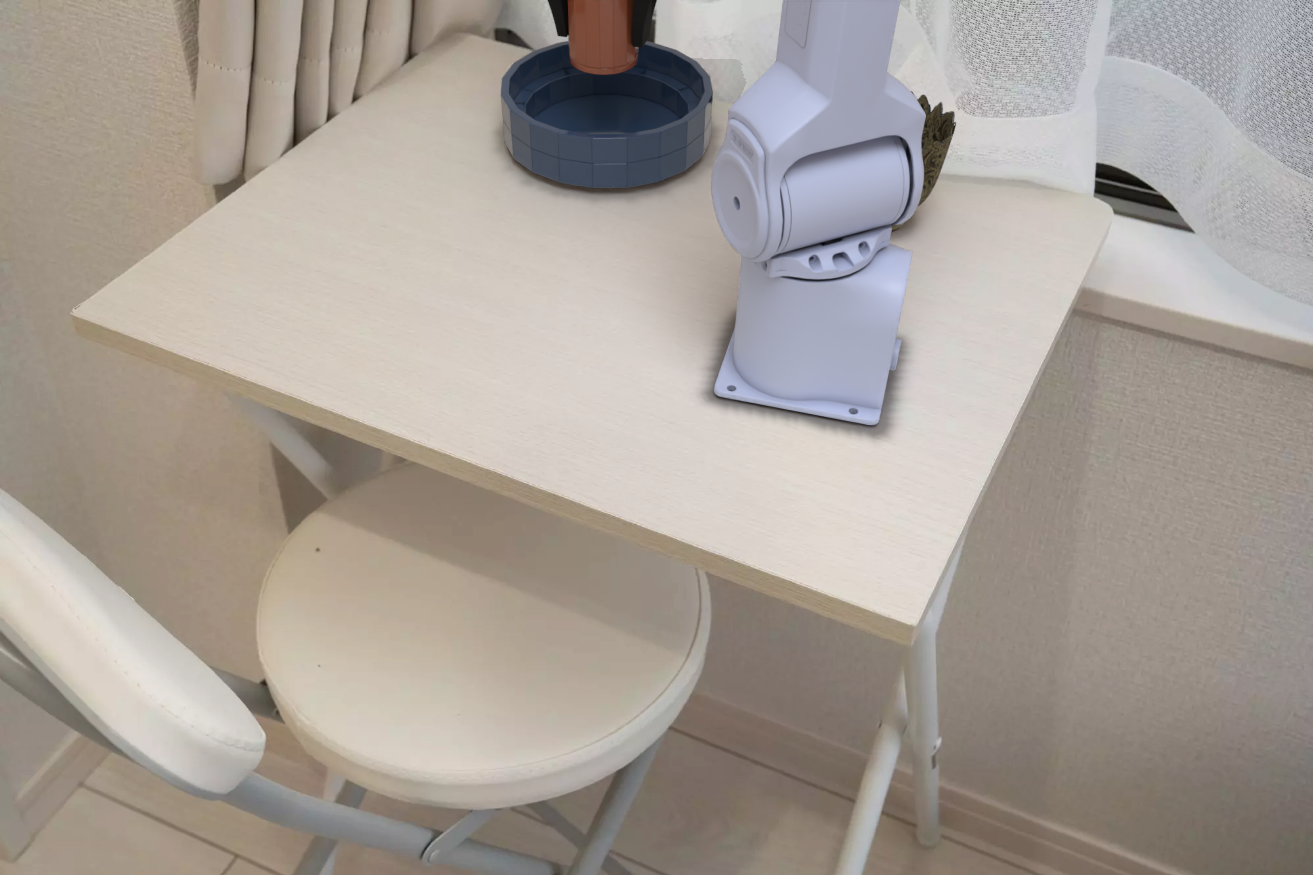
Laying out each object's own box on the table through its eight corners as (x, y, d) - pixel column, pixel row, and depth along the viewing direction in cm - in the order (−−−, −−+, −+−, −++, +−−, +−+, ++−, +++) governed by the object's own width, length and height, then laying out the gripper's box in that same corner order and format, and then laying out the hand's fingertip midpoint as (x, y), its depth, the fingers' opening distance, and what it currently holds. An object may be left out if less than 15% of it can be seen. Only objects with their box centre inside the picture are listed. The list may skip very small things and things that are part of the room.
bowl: (728, 107, 92) (732, 52, 89) (681, 210, 82) (683, 152, 78) (543, 80, 95) (541, 26, 92) (475, 176, 84) (469, 119, 81)
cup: (645, 48, 84) (646, -50, 79) (627, 79, 81) (627, -22, 76) (581, 39, 85) (578, -59, 80) (560, 69, 82) (556, -31, 77)
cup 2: (913, 264, 78) (936, 156, 72) (809, 233, 80) (823, 126, 74) (947, 208, 82) (970, 103, 77) (848, 181, 85) (863, 77, 79)
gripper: (731, -184, 74) (718, 25, 83) (512, -207, 76) (524, -1, 86) (705, -148, 69) (695, 70, 78) (472, -173, 71) (489, 41, 81)
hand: (604, 36), depth 82 cm, fingers closed on cup, 5 cm apart
